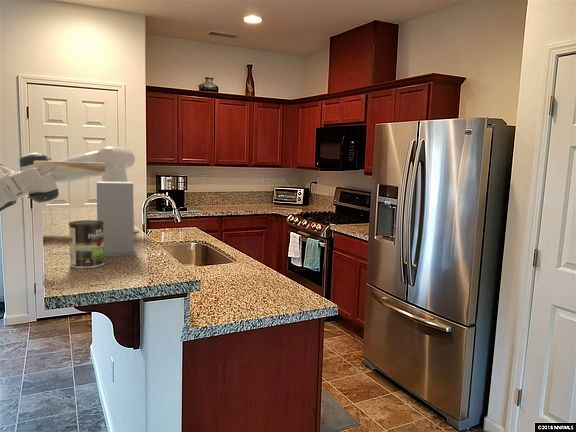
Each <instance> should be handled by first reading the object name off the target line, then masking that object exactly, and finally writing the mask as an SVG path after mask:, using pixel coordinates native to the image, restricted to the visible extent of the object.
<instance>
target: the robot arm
mask: <svg viewBox="0 0 576 432" xmlns="http://www.w3.org/2000/svg"><path fill="white" fill-rule="evenodd" d="M34 161H52V158H51V157H48V156H47V155H45V154H44V153H41V152H29V153H26V154H24V155H23V156H22V157H20V158H19V167H20V169H21V171H18V172H17V171H15V170H13V169H10V168H8V167H7V166H5V165H4V164H2V163H0V212H1V211H4V210H6V209H7V208H9V207H11V206H13V205H14V206H15V205H16V203H17V201H18V200H20V199H22V198H23V197H25V196H26V195H28V196H27V198H28V199H31V200H32V201H34V202H36V203H42V204H47V203H51V202H53V201H55V200H56V199H58V197H59V195H60V194H59V193H60V191H59V188H58V186H57V183H58V184H64V183H74V182H78V181H82V180H88V179H91V178H95V177H100V176H101V179H102V180H101V181H105V182H129V181H128V178H127V172H126V170H129V169H131V168H132V167H133V166H134V164H135V161H136V158H135V154H134V153H133V151H132V150H130V149H128V148H127V147H125V146H113V145H111V146H110V145H109V146H105V147H102V148H101V149H100V150H96V151H91V152H86V153H82V154H81V153H80V154H76V155H72V156H70V157H65V158H62V159H60V160H58V161H61V162H93V163H105V166H106V171H105V172H91V171H52V169H54V168H55V167H56V166H55V165H54V163H51V164H49V165H46V166H44V167H41V168H39V167H36V168H34ZM133 216H134V217H135V213H133ZM134 233H140V229H139V228H137V227H136V221H135V218H134Z"/></svg>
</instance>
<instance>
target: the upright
mask: <svg viewBox="0 0 576 432" xmlns="http://www.w3.org/2000/svg"><path fill="white" fill-rule="evenodd" d="M133 214H134V181H128V182H105V181H103V180H101V181H97V182H96V218H97V219H96V221H102V222H104V225H103V235H104V257H125V256H124V255H127V256H136V246H135V241H134V240H135V239H134V237H135V232H134V219H135V215H134V216H133Z"/></svg>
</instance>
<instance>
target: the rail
mask: <svg viewBox="0 0 576 432" xmlns="http://www.w3.org/2000/svg"><path fill="white" fill-rule="evenodd" d="M51 163H54V165H55V166H56V167H55V168H54V169H52V171H91V172H105V171H106V166H105V163H93V162H61V161H59V160H57V161H53V160H48V161H34V168H36V167H39V168H41V167H44V166H46V165H49V164H51Z"/></svg>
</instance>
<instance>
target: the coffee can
mask: <svg viewBox="0 0 576 432" xmlns="http://www.w3.org/2000/svg"><path fill="white" fill-rule="evenodd" d="M103 225H104V222H102V221H97V220H91V219H90V220H89V219H88V220H87V219H86V220H85V219H84V220H74V221H69V222H68V227H69V249H70V250H69V257H70V258H69V259H70V261H69V262H70V263H69V264H70V267H71V268H74V269H82V270H83V269H94V268H99V267H102V266H104V265H105V256H104V235H103Z"/></svg>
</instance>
